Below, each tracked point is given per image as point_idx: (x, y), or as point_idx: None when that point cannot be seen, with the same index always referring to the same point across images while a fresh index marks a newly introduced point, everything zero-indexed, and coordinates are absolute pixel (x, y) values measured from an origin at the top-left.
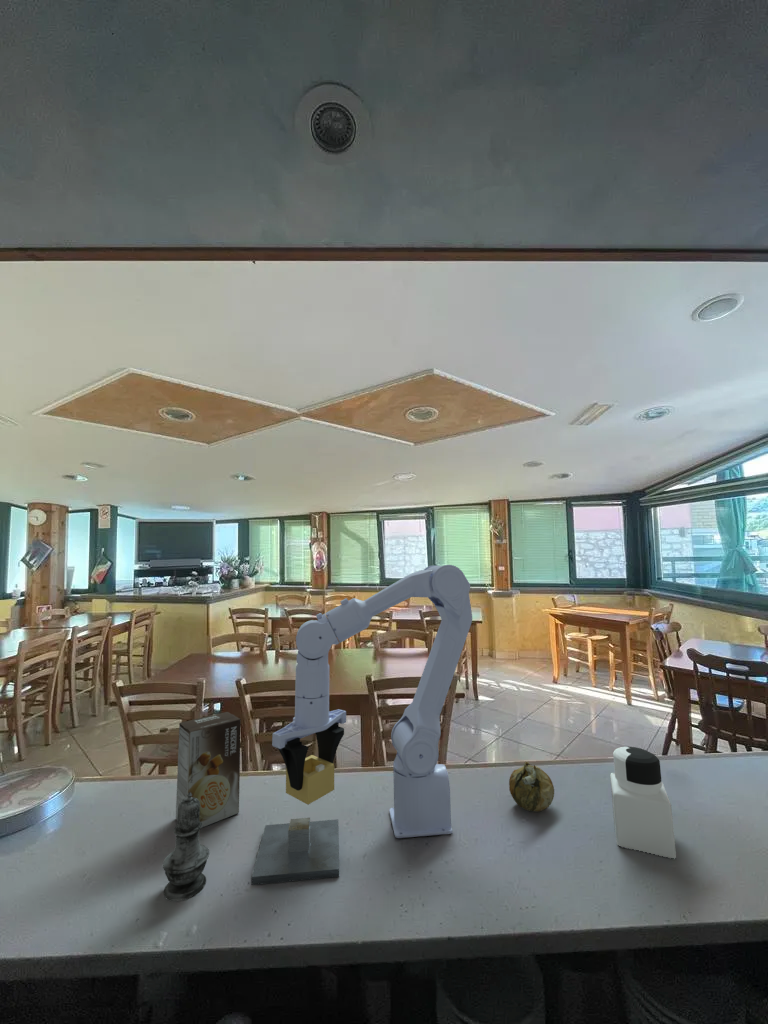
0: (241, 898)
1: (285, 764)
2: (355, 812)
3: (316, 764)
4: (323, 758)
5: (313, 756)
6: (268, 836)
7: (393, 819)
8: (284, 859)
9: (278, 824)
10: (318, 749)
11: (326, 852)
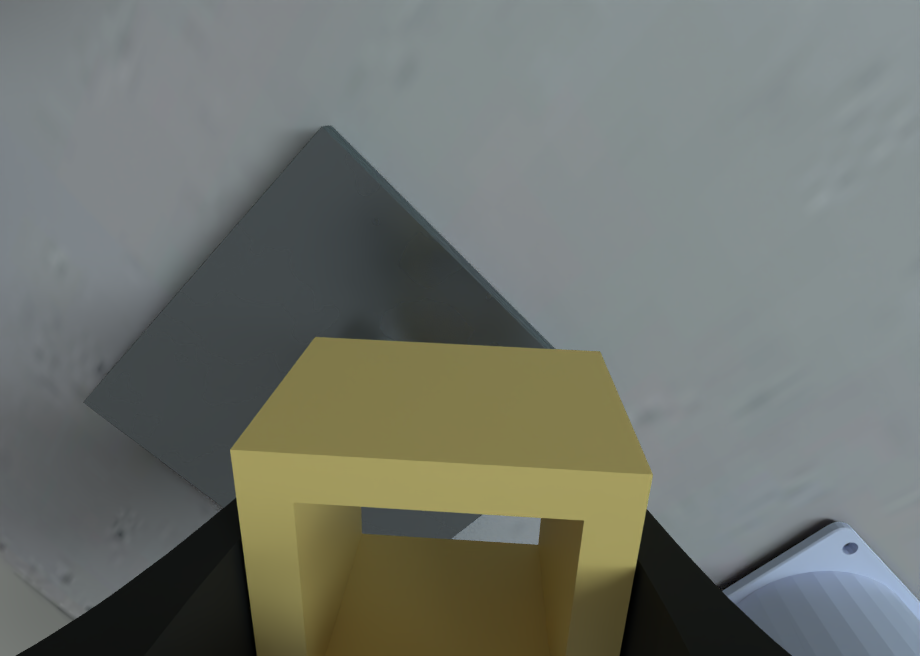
0: (47, 410)
1: (97, 606)
2: (753, 390)
3: (568, 552)
4: (632, 640)
5: (626, 511)
6: (276, 232)
7: (763, 584)
8: (239, 426)
9: (377, 186)
10: (677, 632)
11: (390, 525)
